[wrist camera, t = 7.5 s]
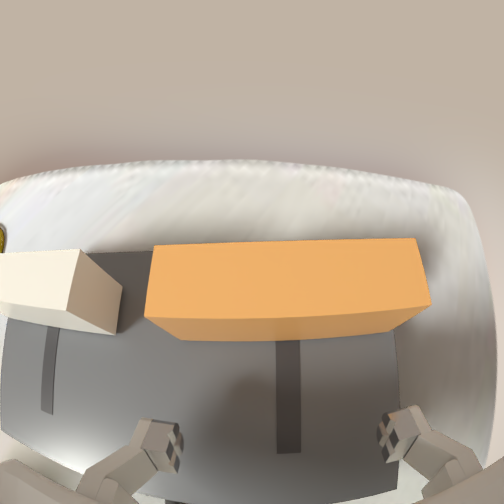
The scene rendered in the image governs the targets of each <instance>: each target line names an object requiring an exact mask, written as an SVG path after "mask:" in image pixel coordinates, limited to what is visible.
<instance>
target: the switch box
mask: <svg viewBox="0 0 504 504" xmlns="http://www.w3.org/2000/svg"><path fill="white" fill-rule="evenodd" d="M85 254H86V255H87V256H88V257H89V258H90V259H92V260H93V261H94V262H95V263H96V264H97V265H98V266H99V267H100V268H102V269H103V270H104V271H105V272H106V273H107V274H108V275H110V276H111V277H112V278H113V279H114V280H115V281H117V282H118V283H119V284H120V285H121V286H122V287H123V288H122V294H121V300H120V306H119V313H118V321H117V328H116V335H108V334H99V333H92V332H84V331H77V330H71V329H64V328H58V327H52V326H47V325H41V324H36V323H31V322H26V321H22V320H17V319H12V318H8V321H7V327H6V333H5V340H4V348H3V357H2V368H1V385H0V420H1V430H2V431H3V432H5V433H6V434H8V435H9V436H11V437H12V438H14V439H15V440H17V441H19V442H20V443H22V444H24V445H25V446H27V447H29V448H30V449H32V450H34V451H36V452H37V453H39V454H41V455H43V456H45V457H47V458H49V459H51V460H53V461H55V462H57V463H59V464H61V465H63V466H65V467H67V468H70V469H72V470H74V471H76V472H79V473H81V474H84V473H85V470H86V469H88V468H89V467H91V466H93V465H94V464H96V463H98V462H99V461H101V460H103V459H104V458H106V457H108V456H109V455H111V454H112V453H114V452H116V451H117V450H119V449H120V448H122V447H123V446H125V445H126V446H129V443H130V441H131V438H132V436H133V434H134V431H135V429H136V427H137V424H138V422H139V420H140V419H141V418H142V417H144V418H150V419H155V420H161V421H168V422H175V423H178V424H179V427H180V429H179V432H180V433H182V434H183V437H184V450H183V454H181V455H180V456H179V460H180V466H179V470H178V474H174V473H167V472H161V471H158V473H156V474H155V475H154V476H153V477H152V478H151V479H150V480H149V481H147V482H146V483H145V484H144V485H143V486H142V487H141V488H139V489H138V490H137V491H136V492H137V493H141V494H144V495H148V496H153V497H157V498H162V499H165V504H182V502H183V503H189V504H332V503H339V502H344V501H350V500H355V499H360V498H364V497H369V496H373V495H377V494H381V493H384V492H388V491H391V490H395V489H397V481H398V468H399V460H397V461H393V462H389V463H385V461H384V458H383V455H382V453H381V451H382V449H383V447H382V446H381V445H379V444H378V441H377V436H376V433H377V427H378V425H379V424H380V423H381V422H382V415H383V414H384V413H385V412H389V411H393V410H397V409H400V401H399V381H398V367H397V356H396V346H395V337H394V329H392V330H390V331H389V332H383V333H374V334H366V335H356V336H346V337H335V338H321V339H306V340H285V341H190V340H180V339H178V338H176V337H175V336H173V335H172V334H170V333H168V332H167V331H165V330H164V329H162V328H161V327H159V326H157V325H156V324H154V323H153V322H151V321H150V320H148V319H147V318H145V317H144V312H145V304H146V296H147V289H148V282H149V275H150V269H151V262H152V257H153V251H146V252H117V253H85Z"/></svg>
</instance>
